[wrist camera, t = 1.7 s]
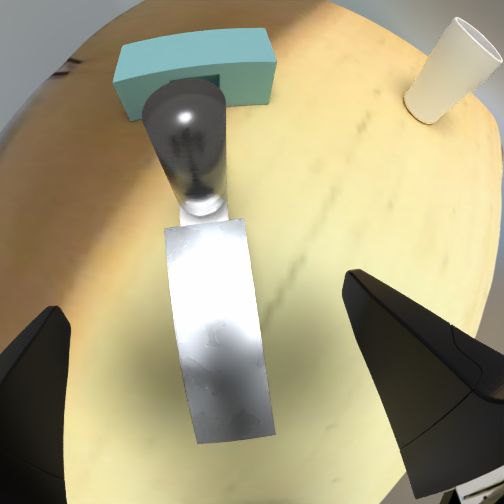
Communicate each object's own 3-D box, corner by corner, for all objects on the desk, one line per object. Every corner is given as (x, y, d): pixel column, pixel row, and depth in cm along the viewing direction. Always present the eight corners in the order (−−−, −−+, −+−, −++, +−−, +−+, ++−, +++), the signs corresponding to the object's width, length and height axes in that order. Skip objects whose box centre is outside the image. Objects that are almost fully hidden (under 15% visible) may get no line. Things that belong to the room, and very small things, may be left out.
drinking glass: (424, 137, 26) (498, 64, 12) (388, 96, 27) (445, 13, 12) (445, 123, 27) (507, 61, 13) (412, 86, 28) (464, 17, 14)
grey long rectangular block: (265, 408, 20) (275, 434, 15) (203, 416, 19) (197, 443, 14) (240, 237, 22) (243, 218, 17) (178, 245, 22) (164, 228, 17)
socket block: (268, 104, 25) (277, 61, 19) (130, 121, 24) (112, 82, 18) (259, 68, 26) (264, 28, 20) (135, 83, 25) (122, 45, 19)
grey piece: (253, 391, 19) (281, 482, 7) (208, 397, 19) (186, 491, 7) (218, 133, 23) (215, 20, 11) (180, 138, 22) (154, 28, 11)
